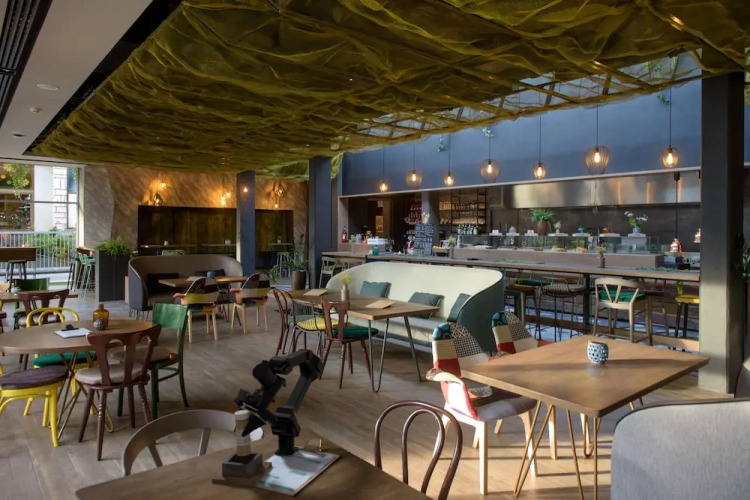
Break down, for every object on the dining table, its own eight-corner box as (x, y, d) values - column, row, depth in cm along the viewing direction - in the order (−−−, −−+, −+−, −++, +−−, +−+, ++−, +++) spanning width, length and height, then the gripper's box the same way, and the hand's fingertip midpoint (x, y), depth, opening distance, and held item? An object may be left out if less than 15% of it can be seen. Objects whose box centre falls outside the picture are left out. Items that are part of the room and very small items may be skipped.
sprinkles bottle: (249, 450, 169) (247, 408, 169) (253, 454, 165) (250, 412, 165) (234, 453, 166) (232, 411, 166) (238, 458, 162) (236, 415, 162)
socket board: (232, 462, 174) (232, 446, 174) (271, 465, 172) (271, 450, 171) (211, 482, 161) (211, 466, 160) (254, 486, 158) (254, 470, 158)
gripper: (237, 372, 174) (207, 413, 167) (268, 385, 161) (237, 430, 154) (258, 390, 180) (230, 430, 173) (289, 403, 167) (260, 448, 160)
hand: (238, 434), depth 165 cm, fingers closed on sprinkles bottle, 4 cm apart
